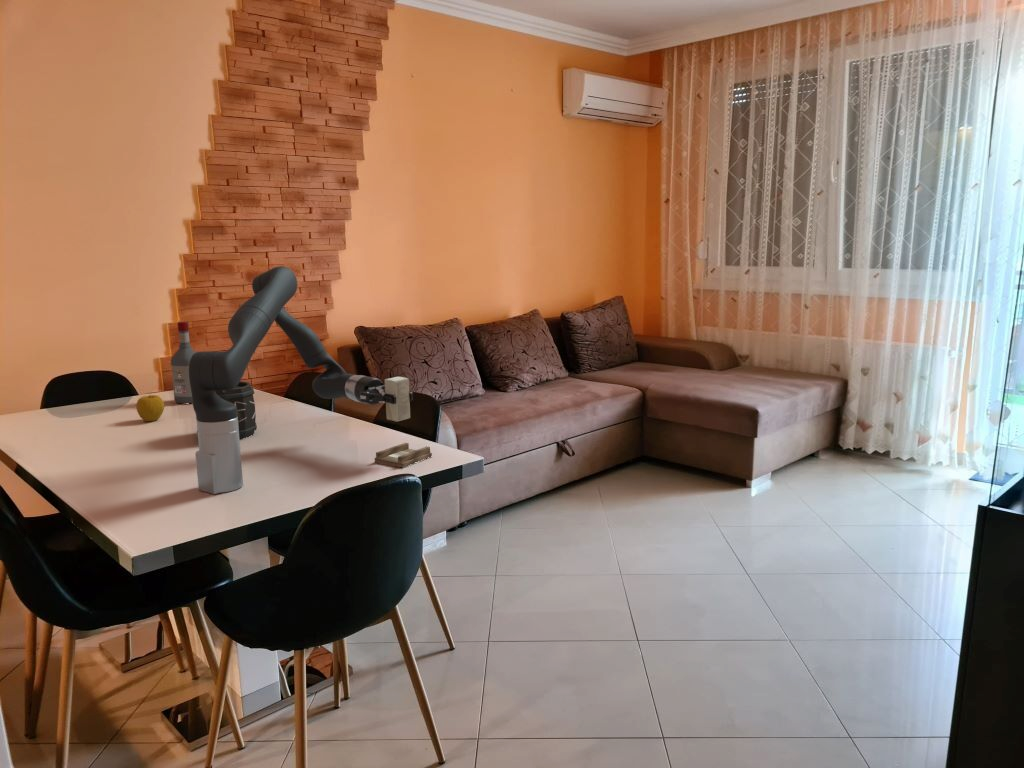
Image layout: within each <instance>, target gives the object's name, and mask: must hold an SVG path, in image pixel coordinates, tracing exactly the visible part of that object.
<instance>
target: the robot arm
mask: <svg viewBox="0 0 1024 768" xmlns="http://www.w3.org/2000/svg"><path fill="white" fill-rule="evenodd" d="M297 279H298V278H297V276H296V274H295V273H294V271H293V270H292V269H290V268H289V267H287V266H283V265H282V266H281V265H280V266H275V267H273V268H271V269H269V270H267V271H265V272H262V273H260V274H259V275H256V276H255V277H254V278H253V280H252V283H251V288H252V291H253V294H254V295H252V296H251V297H250V298H249V299H248V300H246V301H245V302H244V303H242V304H241V305H240V307H238V309H237V310H236V311H235V312H234V314H233V315H232V316H231V318H230V320H229V322H228V325H227V332H228V336H229V339H230V340H231V344H232V346H231V347H230V348H229V349H228V350H225V351H222V350H221V351H217V350H215V351H211V350H210V351H205V350H202V351H195V352H196V353H194V354H193V355H192V357H191V359H190V362H189V381H190V388H191V394H192V402H193V404H192V407H193V410H194V413H195V420H196V428H197V429H196V430H197V431H198V433H197V441H198V451H196V452H195V462H196V463H195V464H196V474H197V475H196V476H197V484H198V486H197V487H198V491H202V492H205V493H209V494H212V495H217V494H220V493H226V492H227V493H229V492H233V491H236V490H239V489H241V488H242V487H243V486H244V480H243V468H242V467H243V466H242V465H243V464H242V454H241V453H242V452H241V442H240V441H241V439H239V426H238V412H237V407H236V405H235V404H233V403H231V402H228V401H226V400H224V399H222V398H220V397H219V396H218V395H217V394H216V392H215V390H218V391H226V390H231V389H234V388H235V387H236V386H237V385H238V384H239V382H240V381H242V378H243V377H244V375H245V372H246V370H247V368H248V365H249V363H250V361H251V359H252V357H253V355H254V353H255V352H256V351H257V349H258V347H259V346H260V343H262V341H263V339H264V338H265V337H266V335H267V334H268V332H269V331H270V329H271V326H272V325H273V323H276V324H277V326H279V327H280V329H281V330H282V331H283V333H284V334H286V336H287V337H288V338H289V340H290V341H291V342H292V344H293V346H294V347H295V349H296V351H297V352H298V355H299V356H300V357H301V359H302V361H303V362H304V364H305V365H306V367H308V368H309V369H316V368H318V367H320V366H322V367H324V368H325V370H324V371H323V372H321V373H320V374H318V375H317V376H316V377H315V378H314V379H313V380H312V382H311V388H312V390H313V392H314V393H315V394H316V395H317V396H318V397H320V398H322V399H325V400H327V399H328V400H333V399H334V400H335V399H342V398H345V399H349V400H353V401H354V402H358V403H362V404H365V405H366V404H367V405H370V406H374V405H378V404H380V403H382V404H386V402H387V403H391V404H396V396H395V395H391V394H386V393H385V383H384V382H383V381H382V380H381V379H379V378H377V377H372V376H366V375H362V374H359V375H358V374H353V373H347V372H346V371H345V369H344V367H342V366H341V365H340V364H339V363H338V362H337V361H336V360H335V359H334V358H333V357H332V356H331V355H330V354H329V353H328V351H327V350H326V348H325V346H324V344H323V343H322V341H321V339H320V337H319V336H318V335H317V334H316V332H314V330H312V329H311V328H310V327H309V326H307V325H306V324H304V323H303V322H301V321H300V320H298V319H296V318H295V317H294V316H292V314H290V313H289V312H288V311H287V309H286V308H285V305H286V304H287V303H288V302H289V301H290V300H291V299H292V298H293V297H294V296H295V295H296V293H297V291H298V280H297ZM409 399H410V401H414V393H413V392H412V391H409ZM197 431H196V432H197Z"/></svg>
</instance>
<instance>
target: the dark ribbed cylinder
mask: <svg viewBox="0 0 1024 768" xmlns="http://www.w3.org/2000/svg"><path fill="white" fill-rule="evenodd" d="M215 392H216V394H217V395H218V396H219V397H220V398H222V399H224V400H226V401H228V402H231V403H233V404H235V405H236V407H237V412H238V426H239V439H240V440H244V439H243V438H245V439H247V438H249V436H250V437H252V436H254V435H255V431H257V428H258V426H257V422H256V417H257V416H256V403H255V399H254V394H255V390H254V387H253V386H251V382H248V381H242V380H241V381H240V382H239V384H238V385H237V386H236V387H235V388H234V389H231V390H226V391H218V390H215ZM196 434H198V431H196ZM253 434H254V435H253ZM251 435H252V436H251ZM246 437H247V438H246Z"/></svg>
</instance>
